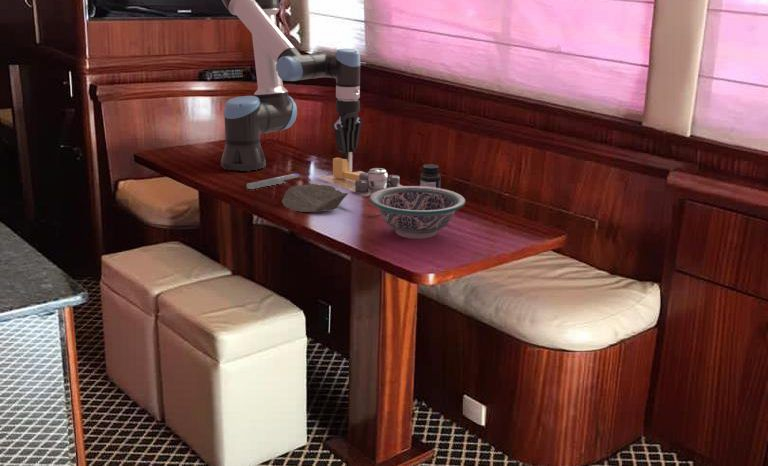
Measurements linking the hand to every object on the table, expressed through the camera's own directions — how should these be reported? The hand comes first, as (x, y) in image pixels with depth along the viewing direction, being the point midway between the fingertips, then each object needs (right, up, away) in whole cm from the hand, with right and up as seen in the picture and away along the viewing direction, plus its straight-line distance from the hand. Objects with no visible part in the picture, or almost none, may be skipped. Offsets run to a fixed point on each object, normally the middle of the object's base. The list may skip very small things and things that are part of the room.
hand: (347, 171), depth 275 cm
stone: (-9, -12, -30) cm, 34 cm away
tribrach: (+5, -5, -7) cm, 10 cm away
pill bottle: (+25, -11, -23) cm, 36 cm away
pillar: (-23, -5, -7) cm, 25 cm away
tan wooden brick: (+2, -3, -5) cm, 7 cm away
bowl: (+20, -20, -51) cm, 59 cm away
